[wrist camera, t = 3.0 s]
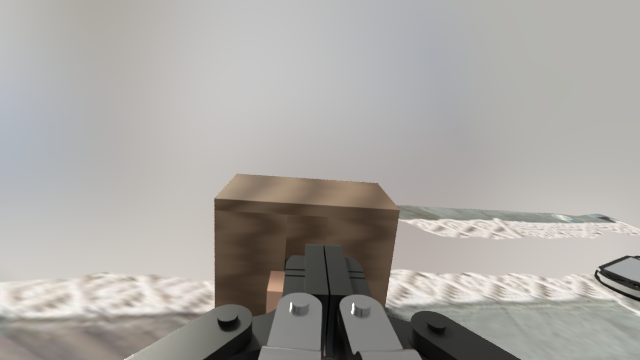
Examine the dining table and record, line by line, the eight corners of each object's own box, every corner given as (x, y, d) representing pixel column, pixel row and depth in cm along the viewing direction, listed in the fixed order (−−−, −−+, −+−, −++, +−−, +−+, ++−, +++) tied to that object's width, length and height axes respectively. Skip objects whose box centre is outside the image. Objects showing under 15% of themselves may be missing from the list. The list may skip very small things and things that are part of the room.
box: (215, 339, 34) (214, 198, 30) (235, 285, 43) (237, 173, 39) (379, 345, 35) (399, 209, 31) (363, 291, 45) (377, 183, 41)
